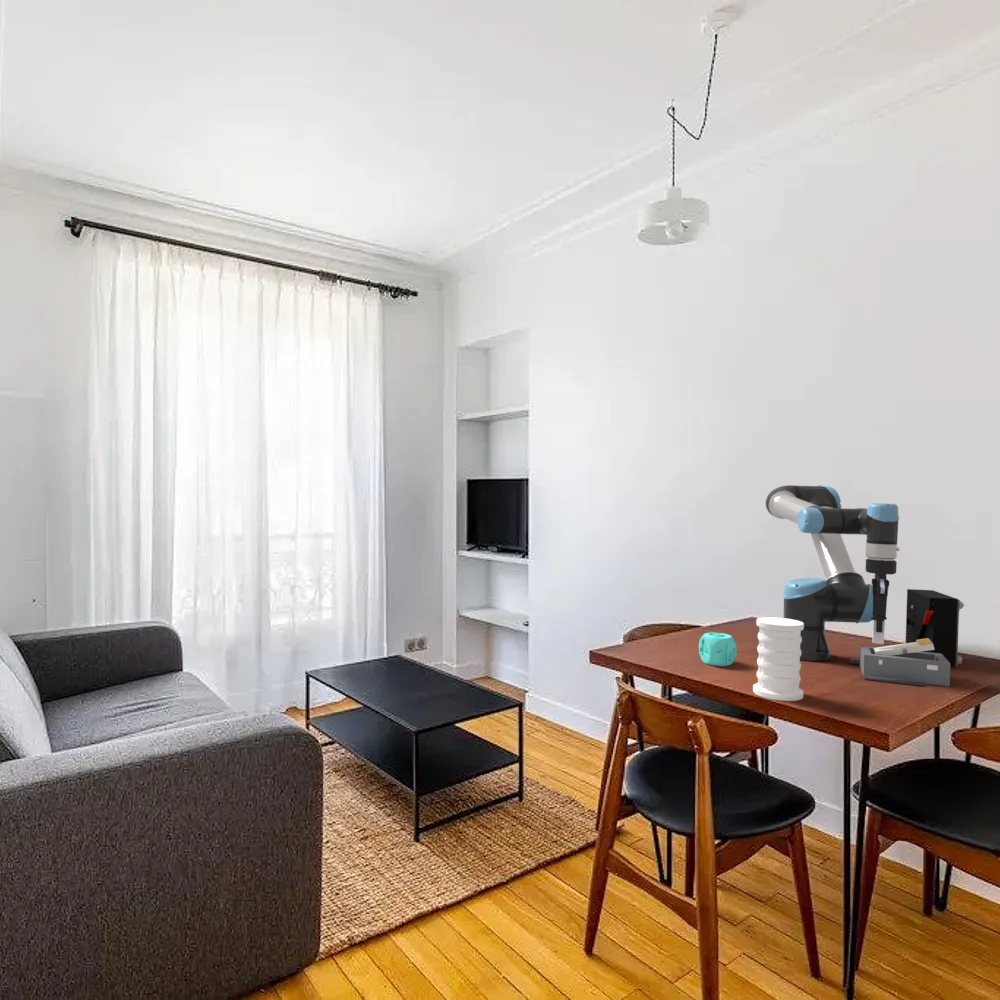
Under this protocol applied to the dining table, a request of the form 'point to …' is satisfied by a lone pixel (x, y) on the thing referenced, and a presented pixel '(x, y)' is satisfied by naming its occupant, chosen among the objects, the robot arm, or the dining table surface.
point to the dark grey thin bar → (894, 680)
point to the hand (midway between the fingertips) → (878, 643)
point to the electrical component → (934, 622)
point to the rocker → (905, 648)
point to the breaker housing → (906, 666)
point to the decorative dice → (717, 649)
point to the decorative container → (779, 659)
